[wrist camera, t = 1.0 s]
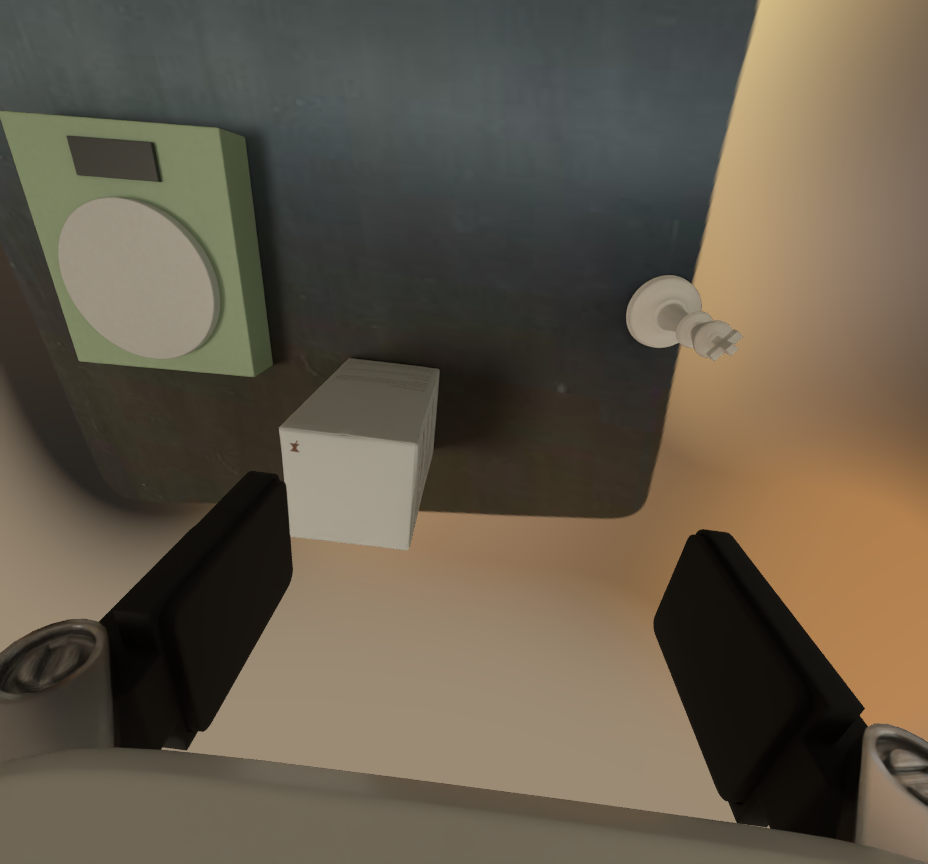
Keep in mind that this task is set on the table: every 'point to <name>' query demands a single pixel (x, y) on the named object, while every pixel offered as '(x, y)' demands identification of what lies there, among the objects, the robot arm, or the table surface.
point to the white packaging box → (361, 454)
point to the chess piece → (677, 319)
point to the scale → (147, 240)
